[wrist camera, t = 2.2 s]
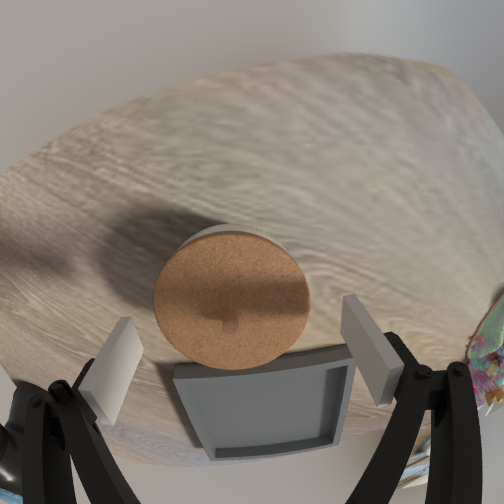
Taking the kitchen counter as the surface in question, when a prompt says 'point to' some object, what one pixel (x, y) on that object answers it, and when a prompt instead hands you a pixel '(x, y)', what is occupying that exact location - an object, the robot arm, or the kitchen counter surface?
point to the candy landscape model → (488, 355)
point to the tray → (269, 404)
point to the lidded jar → (231, 298)
